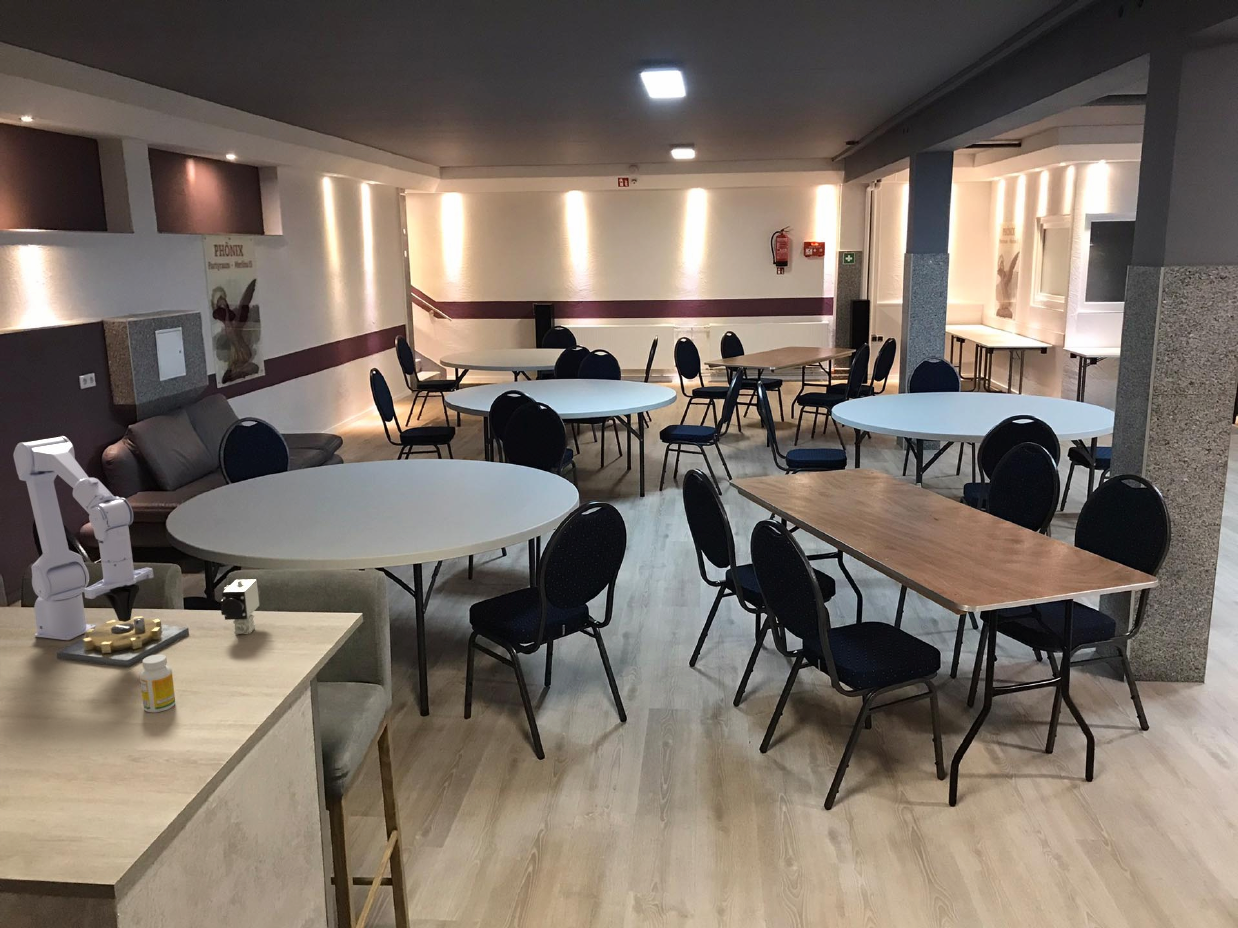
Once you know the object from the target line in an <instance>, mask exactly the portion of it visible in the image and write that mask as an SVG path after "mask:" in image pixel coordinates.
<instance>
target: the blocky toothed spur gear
mask: <svg viewBox="0 0 1238 928" xmlns="http://www.w3.org/2000/svg"><path fill="white" fill-rule="evenodd" d="M161 625H162V621H161V620H160V619H159V618H156V619H149V618H144V616H134V617H133V618H131V620H129V621H126V622H123V621H119V620H115V619H111V620H108V621H105V623H104V624H101V625H99V626H96V628H94V629H88V630H87V631H86V632H85V633H84V635H85V637H84V638H85V639H84V638H82V639H83V642H84V648H85V649H86V650H90V649H96V650H102V653H111V652H113V651H114V650H122V649H128V648H132V649H136V648H139V647H142V644H145V643H147V642H149V641H151V640H152V639H159V638H160V637H161V630H162V626H161Z"/></svg>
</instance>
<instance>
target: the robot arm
mask: <svg viewBox="0 0 1238 928" xmlns="http://www.w3.org/2000/svg"><path fill="white" fill-rule="evenodd" d="M75 455H76V454H75V449H74V445H73V443H72V442H71V440H69V438H68V437H66V436H64V435H60V436H58V437H52V438H51V437H50V438H44V439H39V440H33V441H27V442H26V441H25V442H19V443H17V445H16V446H15V448H14V451H13V460H14V464H15V468H16V473H17V475H18V479H19V480H20V481H23V482H25V483H26V486H27V491H28V495H29V499H30V504H31V507H32V508H31V509H32V512H33V517H34V521H35V525H36V531H37V534H38V538H39V544H40V548H41V551H42V554H41V555H40V557H39V558H38V559H37V560H36V561H35V562H34V563H33V564H32V565H31V576H32V577H31V585H32V588H33V592H34V593H35V595H36V596H38V597H37V599H36V600H35V603H34V607H33V609H34V618H35V624H36V629H37V630H36V631H37V633H35V634H34V637H36V638H46V639H52V640H53V639H55V640H62V641H71V640H73V639H75V638H77V637H79V636H81V635H83V634H85V632H86V631H87V630H88V629H95V628H97V625H96V624H90V623H89V624H88V623H87V619H86V613H85V607H84V599H83V593H84V598H86V599H91V600H92V599H96V598H97V597H99V596H101V595H103V597H104V598H106V600H107V601H108V603H110V605H111V607H112V609H113V610H114V613H115V615H116V617H117V621H123V622H126V621H129V620H131V619H132V612H133V607H134V602H135V600H136V597H137V596H138V593H139V591H140V586H139V585H138V584H137V582H140V581H143V580H146V579H152V578H154V570H153V568H151V567H144V568H141V569H140V568H139V569H135V568H134V561H133V553H132V546H131V545H132V544H131V535H130V529H129V526H130V525H132V524H133V521H134V511H133V508H132V505H131V504H130V502H129V501H128V500H127V499H126V498H125V497H119V496H117V495H116V496H114V494H112V492H111V491H110V490H109V489H108V488H107V487H106V486H105V485H104V484H103V483H102V482H101V481H100V479H98V478H97V477H96V478H95V477H89V475H88V474H87V473H86V472H85V470H84V469H83V468H82V467H81V465H80V463H79V462H78V461H77V460H76V458H75V457H76V456H75ZM57 475H58V477H60V478H61V479H62V480H63V481H64V482H65V483H67V485H69V486H70V487H71V488H73V489H72V497H73V498H74V500H76V501H77V503H78V504H79V505H80V506H81V507H82V508H83V509H84V511H86V512H87V513H88V514H89V516H88V519H89V523H90V525H91V527H92V529H93V533H94V537H95V540H97V542H98V546H99V553H100V555H99V556H100V562H101V563H100V564H101V570H102V578H103V579H101V580H99V581H97V582H96V583H94V584H92V585H90V586H88V585H89V581H90V572H89V569H88V568H87V566H86V565H85V564H86V563H85V562H84V559H83V556H82V555H81V554H79V553H77V552H74V551H72V550H70V549H69V545H68V541H67V536H66V532H65V527H64V526H65V525H64V524H63V523H64V522H63V518H62V513H61V509H60V504H59V501H58V495H57V492H56V491H57V490H56V487H55V479H56V477H57ZM87 586H88V587H87Z"/></svg>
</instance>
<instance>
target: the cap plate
mask: <svg viewBox="0 0 1238 928" xmlns="http://www.w3.org/2000/svg"><path fill="white" fill-rule="evenodd" d="M161 626H162V630H161V637H160V638H159V639H152V640H151V641H149V642H147V643H145V644H142V647H139V648H136V649H132V648H128V649H122V650H114V651H113V652H111V653H102V650H96V649H90V650H86V649H85V648H84V642H83V639H85V638H86V637H84V638H82V639H79V640H78V641H75V642H74V643H72V644H70V645H66V646H65V647H63V648H61V649H59V650H57V651H55V652H56V658H57V659H58V660H67V661H76V662H81V663H82V662H83V663H92V664H99V665H107V666H114V667H123V668H130V667H131V666H133V665H135V664H136V663H138V662H141V661H143V659H144V658H146V657H148V656H151V655H154V654H155V653H157V652H159V651H160V650H163V649H164V648H166V647H167V646H169V645H172V644H173V643H174V644H175V642H177V641H179V640H181V639H182V638H184V637H186V636H188V635H190V632H189V631H190V630H189V627H185V626H176V625H168V624H167V625H166V624H161Z"/></svg>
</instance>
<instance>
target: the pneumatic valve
mask: <svg viewBox="0 0 1238 928" xmlns="http://www.w3.org/2000/svg"><path fill="white" fill-rule="evenodd" d="M260 587H261V586H260V585H259V580H258V578H236V579H235V580H234V581H233V582H232V583H231V584H230V585H226V586H225V587H223V592H222V593H221V594H222V595H221V596H222V599H221V600H220V602H219V604H220V605H219V606H220V613H221V616H224V620H225V621H226V620H227V621H229V620H233V624H234V634H235V635H237V636H239V634H240V635H245V634H246V635H250V634H251V633H252V632H253V631H254V629H255V628H256V626H255V625H254V623H255V622H254V617H255V616H254V614H253V613H254V611H256V610H257V609H258V607H259V606H260V605H261V600H260V593H261V588H260Z"/></svg>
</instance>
